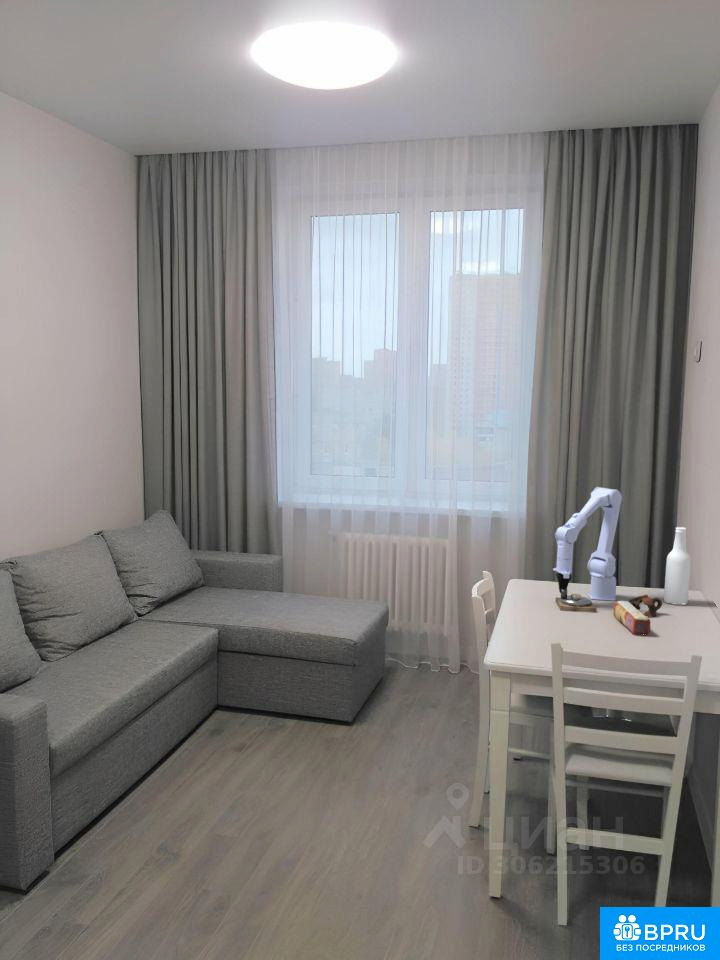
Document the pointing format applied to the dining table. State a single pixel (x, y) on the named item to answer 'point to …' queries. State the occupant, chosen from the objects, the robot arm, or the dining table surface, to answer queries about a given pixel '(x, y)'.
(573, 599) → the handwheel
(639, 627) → the snack package
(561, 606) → the walnut base
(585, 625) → the dining table surface
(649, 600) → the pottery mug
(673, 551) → the alcohol
